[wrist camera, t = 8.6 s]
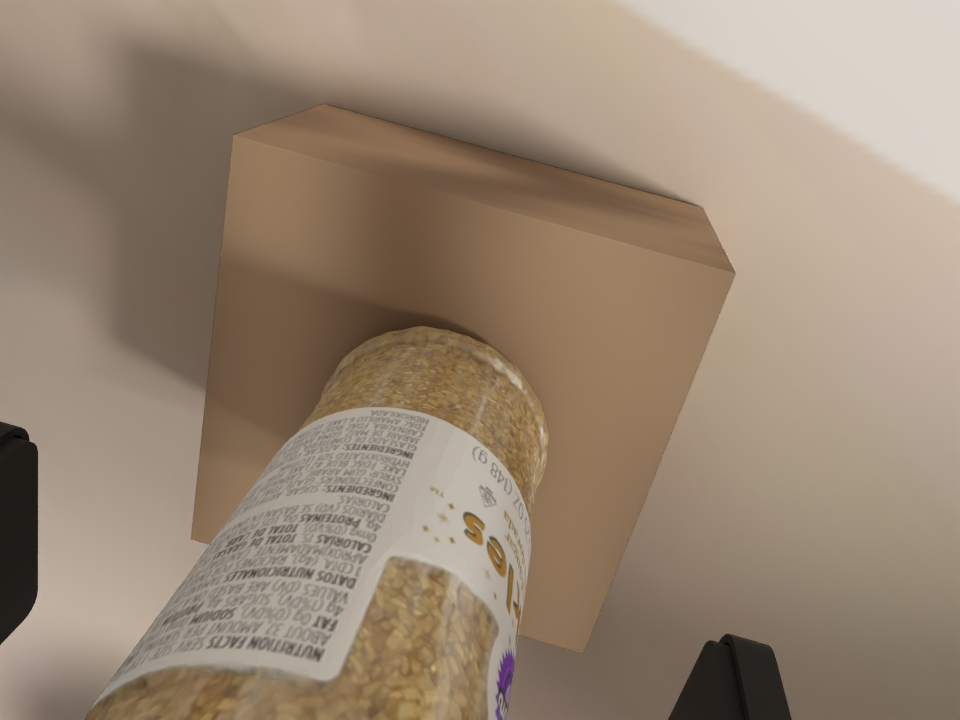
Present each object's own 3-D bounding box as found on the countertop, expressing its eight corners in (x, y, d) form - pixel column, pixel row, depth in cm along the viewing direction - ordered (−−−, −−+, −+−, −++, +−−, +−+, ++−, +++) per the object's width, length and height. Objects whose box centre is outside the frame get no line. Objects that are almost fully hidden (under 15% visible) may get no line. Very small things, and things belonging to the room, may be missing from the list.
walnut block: (702, 207, 18) (735, 273, 14) (587, 520, 22) (583, 654, 17) (324, 103, 18) (232, 134, 14) (275, 430, 22) (191, 538, 18)
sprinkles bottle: (565, 513, 16) (463, 2120, 4) (351, 530, 17) (-281, 1878, 5) (529, 299, 14) (139, 1971, 2) (293, 332, 15) (-937, 1641, 3)
